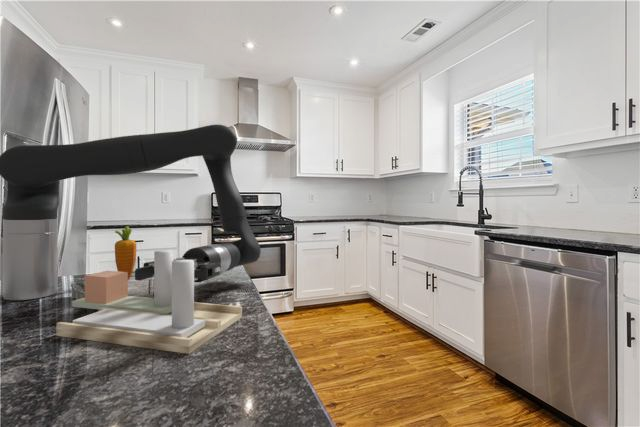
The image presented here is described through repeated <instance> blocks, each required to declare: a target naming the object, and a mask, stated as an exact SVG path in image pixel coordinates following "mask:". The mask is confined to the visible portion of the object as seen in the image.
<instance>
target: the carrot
mask: <svg viewBox="0 0 640 427" xmlns="http://www.w3.org/2000/svg"><path fill="white" fill-rule="evenodd" d="M114 232H115V233H116V234H117V235H119V236H120V238H121V240H118V241H116V242H115V243H114V256H115V258H114V259H115V260H114V261H115V265H116V269H117V270H116V271H120V272H128V281H129V280H130V279H131V277H132V274H133V272H134V268H135V264H136V260H137V242H136V241H135V240H133V239H130V235H131V234H132V228H130V226H128V225H127V226H126V225H125V226H124V228H122V229H121V231H120V230H118V229H117V230H115V231H114Z"/></svg>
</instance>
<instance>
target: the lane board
mask: <svg viewBox="0 0 640 427" xmlns="http://www.w3.org/2000/svg"><path fill="white" fill-rule="evenodd" d="M134 297H137V296H134ZM144 298H147V297H145V296H144ZM104 309H109V310H119V311H128V312H137V313H146V314H155V315H164V316H172V312H170V313H168V314H162V313H152V312H143V311H134V310H124V309H115V308H106V307H103V308H100V309H98V311H101V310H104ZM242 318H243V306H238V305H230V304H229V305H228V304H218V303H217V304H216V303H207V302H197V301H194V319H201V320H205V326H204V327H203V328H201V329H199V330H198V331H196V332H195V333H193V334H191V335H190V336H188V337H178V336H170V335H162V334H154V333H146V332H138V331H130V330H122V329H114V328H106V327H98V326H90V325H82V324H74V323H73V322H66V321H65V322H64V321H59V322H56V336H57V337H65V338H72V339H79V340H84V341H85V340H86V341H93V342H101V343H109V344H114V345H123V346H129V347H137V348H143V349H144V348H145V349H151V350H157V351H158V350H159V351H165V352H173V353H179V354H180V353H181V354H188V355H189V354H191V353H193V352H194V351H195V350H197V349H198V348H200V347H202V346H203V345H205V344H206V343H207V342H208V341H210V340H212V339H213V338H214V337H216V336H217V335H219V334H220V333H221V332H223V331H225V330H226V329H227V328H228V327H230V326H231V325H233V324H234V323H236V322H237V321H239V320H240V319H242Z"/></svg>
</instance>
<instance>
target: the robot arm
mask: <svg viewBox="0 0 640 427" xmlns="http://www.w3.org/2000/svg"><path fill="white" fill-rule="evenodd" d="M237 144H238V136H237V134H236V133H235V131H234V130H233V129H232V128H230V127H229V126H227V125H225V124H224V125H223V124H210V125H206V126H205V125H204V126H201V127H195V128H191V129H185V130H179V131H177V130H176V131H166V132H157V133H146V134H145V133H144V134H133V135H124V136H117V137H110V138H102V139H96V140H91V141H86V142H80V143H72V144H41V145H40V144H39V145H38V144H37V145H36V144H35V145H31V144H29V145H25V144H23V145H16V146H13V147H11V148H9V149H7V150H4V152H3V153H1V155H0V177H1V178H2V179H3V180H5V181H6V182H7V186H6V187H7V189H6V190H7V192H6V200H5V204H4V205H3V207H2V253H1V254H0V297H1V298H2V297H3V298H2V299H3V300H6V301H25V300H35V299H40V298H45V297H49V296H53V295H55V294H57V293H58V270H59V269H58V267H59V266H58V263H59V260H58V210H59V205H60V181H63V180H68V179H72V178H79V177H85V176H118V175H119V176H121V175H131V174H138V173H144V172H150V171H155V170H157V169H158V170H159V169H161V168H164V167H167V166H170V165H172V164H175V163H176V162H180V161H181V160H185V159H188V158H193V157H202V158H203V161H204V164H205V165H206V168H207V171H208V173H209V176H210V178H211V179H210V180H211V182H212V185H213V191H214V195H215V199H216V202H217V203H216V204H217V208H218V209H217V210H218V213H219V219H220V222H221V227H222V230H223V232H224V233H226V234H238V236H239V238H240V239H238V240H234V241H230V242H222V243H217V244H208V245H207V244H206V245H202V246H197V247H192V248H190V249H188V250H186V252H184V254H183V256H181V257H176V258H175V259H174V258H173V261H175V260H194V283H201V282H204V281H208V280H210V279H213V278H215V277H218V276H220V275H221V274H223V273H225V272H228V271H230V270H233V269H234V268H237V267H240V266H244V265H247V264H253V263H256V262H257V261H258V260H259V258H260V257H261V247H260V244H259V242H258V240H257V238H256V236H255V234H254V233H253V231H252V229H251V226H250V224H249V222H248V219H247V213H246V209H245V206H244V201H243V198H242V195H241V193H240V191H239V188H238V186H237V184H236V183H235V180H234V176H233V172H232V161H231V156H232V155H233V153H234V151H235V149H236V147H237ZM150 278H154V260H153V261H148V262H147V261H146V262H144V263H143V265H142V267H138V268H135V270H134V279H135V280H136V281H143V280H147V279H150Z"/></svg>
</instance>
